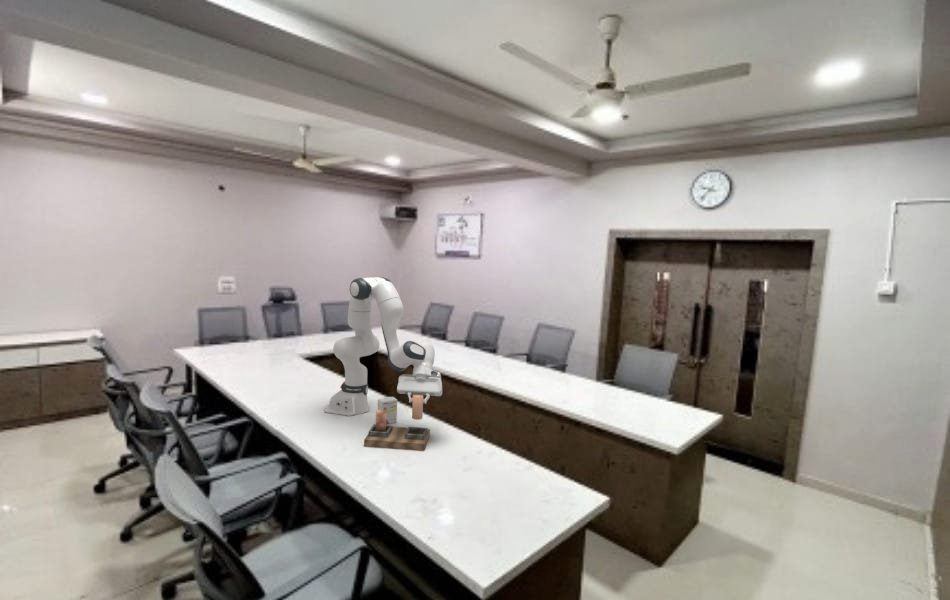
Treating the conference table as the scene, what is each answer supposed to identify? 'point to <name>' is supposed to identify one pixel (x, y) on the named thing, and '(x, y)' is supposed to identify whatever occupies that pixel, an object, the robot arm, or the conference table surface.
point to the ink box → (389, 408)
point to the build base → (395, 435)
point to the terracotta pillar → (417, 406)
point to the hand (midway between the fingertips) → (417, 403)
